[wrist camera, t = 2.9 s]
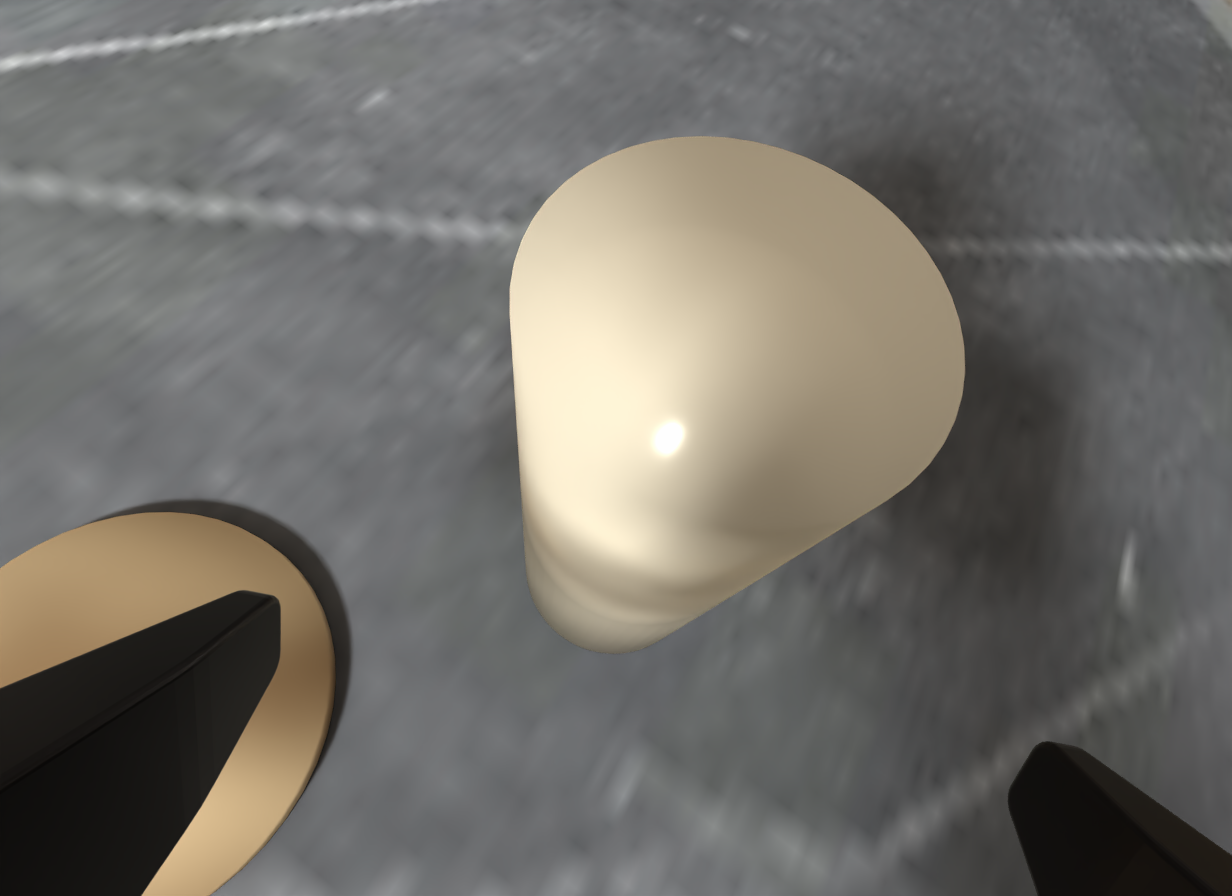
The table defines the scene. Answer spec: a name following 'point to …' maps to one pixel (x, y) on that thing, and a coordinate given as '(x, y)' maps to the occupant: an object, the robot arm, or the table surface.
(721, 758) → the table surface
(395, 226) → the table surface
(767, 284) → the cream glossy rounded body
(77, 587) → the cork coaster
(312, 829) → the table surface
